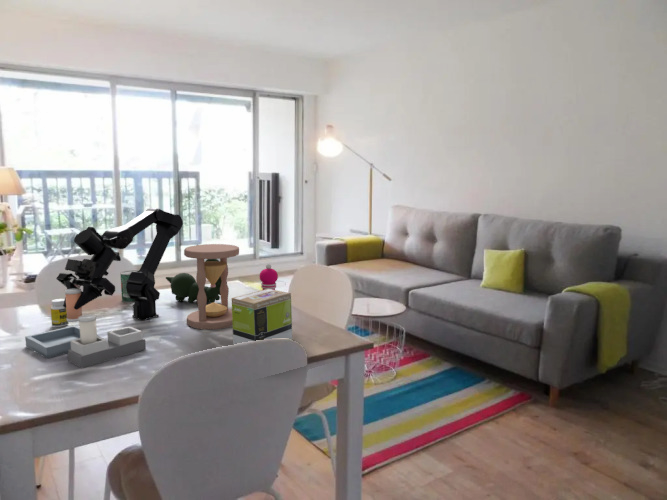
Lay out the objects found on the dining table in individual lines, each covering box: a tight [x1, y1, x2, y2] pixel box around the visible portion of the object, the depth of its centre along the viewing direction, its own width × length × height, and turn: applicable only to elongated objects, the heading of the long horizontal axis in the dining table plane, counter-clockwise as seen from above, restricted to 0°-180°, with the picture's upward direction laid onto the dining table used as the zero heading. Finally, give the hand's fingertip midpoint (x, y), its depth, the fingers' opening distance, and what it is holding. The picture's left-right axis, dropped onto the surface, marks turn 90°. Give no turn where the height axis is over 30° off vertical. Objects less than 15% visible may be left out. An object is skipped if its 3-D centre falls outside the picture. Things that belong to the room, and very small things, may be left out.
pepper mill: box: [259, 263, 279, 290], centre depth 168 cm, size 7×7×20 cm
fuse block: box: [67, 326, 147, 369], centre depth 139 cm, size 18×7×6 cm, turn 141°
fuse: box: [78, 314, 98, 345], centre depth 134 cm, size 4×4×9 cm
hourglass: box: [183, 243, 240, 330], centre depth 169 cm, size 18×18×25 cm
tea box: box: [231, 289, 293, 345], centre depth 149 cm, size 15×10×15 cm, turn 141°
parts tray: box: [24, 325, 99, 359], centre depth 146 cm, size 14×14×3 cm
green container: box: [120, 270, 139, 304], centre depth 196 cm, size 8×8×11 cm
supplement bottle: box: [50, 298, 69, 328], centre depth 164 cm, size 5×5×8 cm
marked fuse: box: [64, 288, 83, 323], centre depth 148 cm, size 4×4×9 cm
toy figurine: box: [165, 259, 222, 304], centre depth 193 cm, size 9×19×25 cm
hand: (69, 307), depth 147 cm, fingers closed on marked fuse, 4 cm apart
